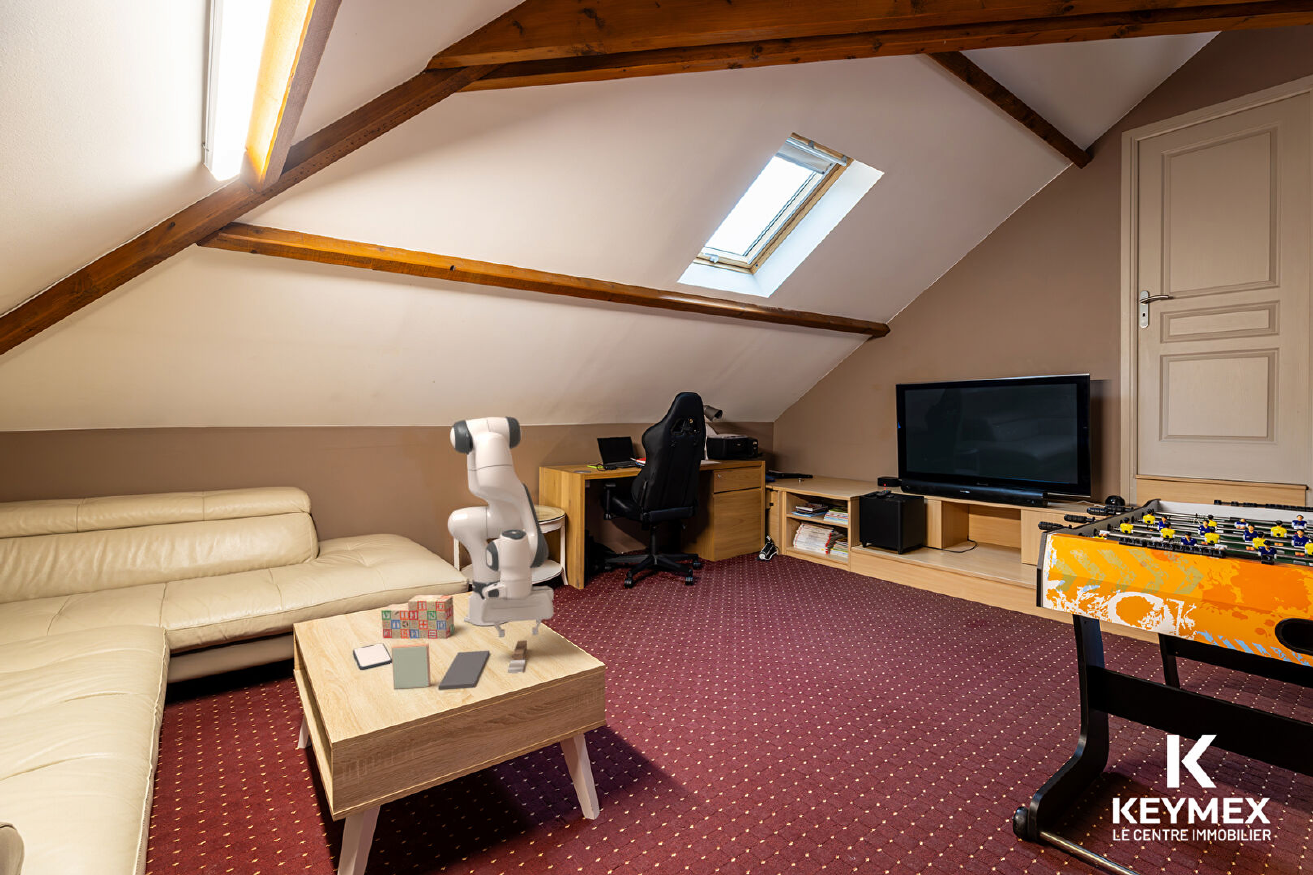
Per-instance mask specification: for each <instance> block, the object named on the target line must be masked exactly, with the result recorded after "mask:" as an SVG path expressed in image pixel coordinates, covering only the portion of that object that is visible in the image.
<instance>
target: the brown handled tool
mask: <svg viewBox="0 0 1313 875" xmlns="http://www.w3.org/2000/svg"><path fill="white" fill-rule="evenodd" d="M527 644H528V641H527V640H517V642H516V645H515V648H514V651H513V654H512V655H513V656H512V660H510V662H509V666H508V667H507V674H508V673H512V674H519V673H518V672H523V673H524V670H525V667H526V659H525V658H526V654H527V652H526V651H528V646H527Z"/></svg>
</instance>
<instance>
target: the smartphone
mask: <svg viewBox="0 0 1313 875" xmlns="http://www.w3.org/2000/svg"><path fill="white" fill-rule="evenodd" d="M352 655H353V658H354V660H355V663H356V662H357V663H356V665H357V667H358V670H359V669H360V670H359V671H366V670H371V669H374V668H379V667H382V666H386V665H387V666H388V665H390V663H391V664H392V655H390V653H389V651H388V649H387V647H386V646H385V644H384V643H375V644H371V645H370V644H369V645H365V646H361V647H356V648H353V650H352Z"/></svg>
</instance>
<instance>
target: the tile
mask: <svg viewBox="0 0 1313 875" xmlns="http://www.w3.org/2000/svg"><path fill="white" fill-rule="evenodd" d="M391 658H392V663H391V664H392V678H393V690H401V689H403V690H404V689H414V688H430V686H431V685H432V678H431V663H430V661H431V660H430V645H429V643H416V644H415V643H413V644H400V645H392V647H391Z"/></svg>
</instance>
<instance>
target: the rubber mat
mask: <svg viewBox="0 0 1313 875" xmlns="http://www.w3.org/2000/svg"><path fill="white" fill-rule="evenodd" d="M489 656H490V650H488V649H487V650H478V651H477V650H475V651H462V652H459V651H458V652H457V654H456V655H455V657H454V659H453V661H452V662H451V664H450V666H449V668H448V669H447V671H446V673H445V675H443V677H442V680H441V681H440V683H439V685H438V691H439V690H440V691H441V690H443V691H444V690H453V689H454V690H455V689H467V688H468V689H469V688H475V687H476V684H477V682H478V680H479V678H480V676H481V674H482V671H483V669H484V667H485V665H486V663H487V660H488V658H489Z"/></svg>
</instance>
